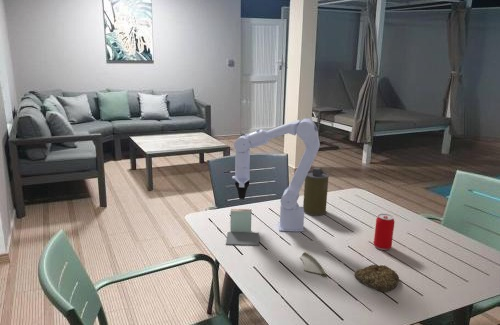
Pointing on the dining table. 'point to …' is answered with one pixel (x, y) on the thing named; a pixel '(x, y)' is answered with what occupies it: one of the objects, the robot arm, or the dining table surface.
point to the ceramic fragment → (312, 264)
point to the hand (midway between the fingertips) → (241, 198)
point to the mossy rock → (378, 277)
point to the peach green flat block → (240, 220)
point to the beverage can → (384, 231)
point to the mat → (242, 238)
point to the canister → (315, 192)
